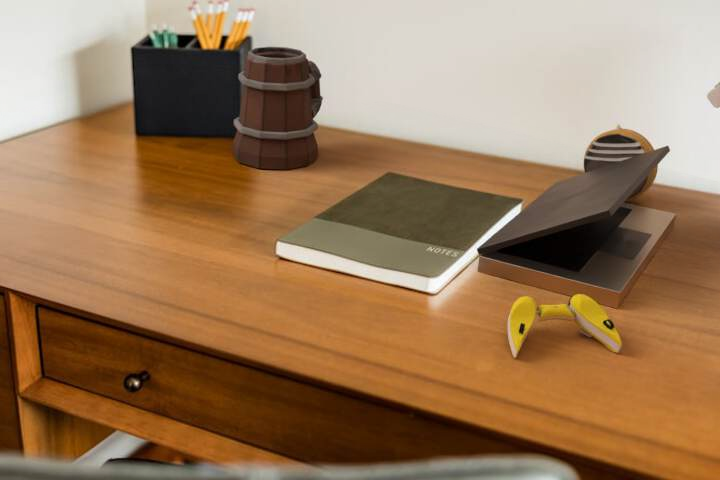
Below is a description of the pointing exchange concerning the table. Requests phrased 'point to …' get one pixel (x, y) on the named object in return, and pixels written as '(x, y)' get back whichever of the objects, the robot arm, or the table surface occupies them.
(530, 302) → the game controller
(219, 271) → the table surface
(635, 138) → the striped round disc
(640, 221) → the laptop
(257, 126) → the mug
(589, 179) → the laptop screen
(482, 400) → the table surface
